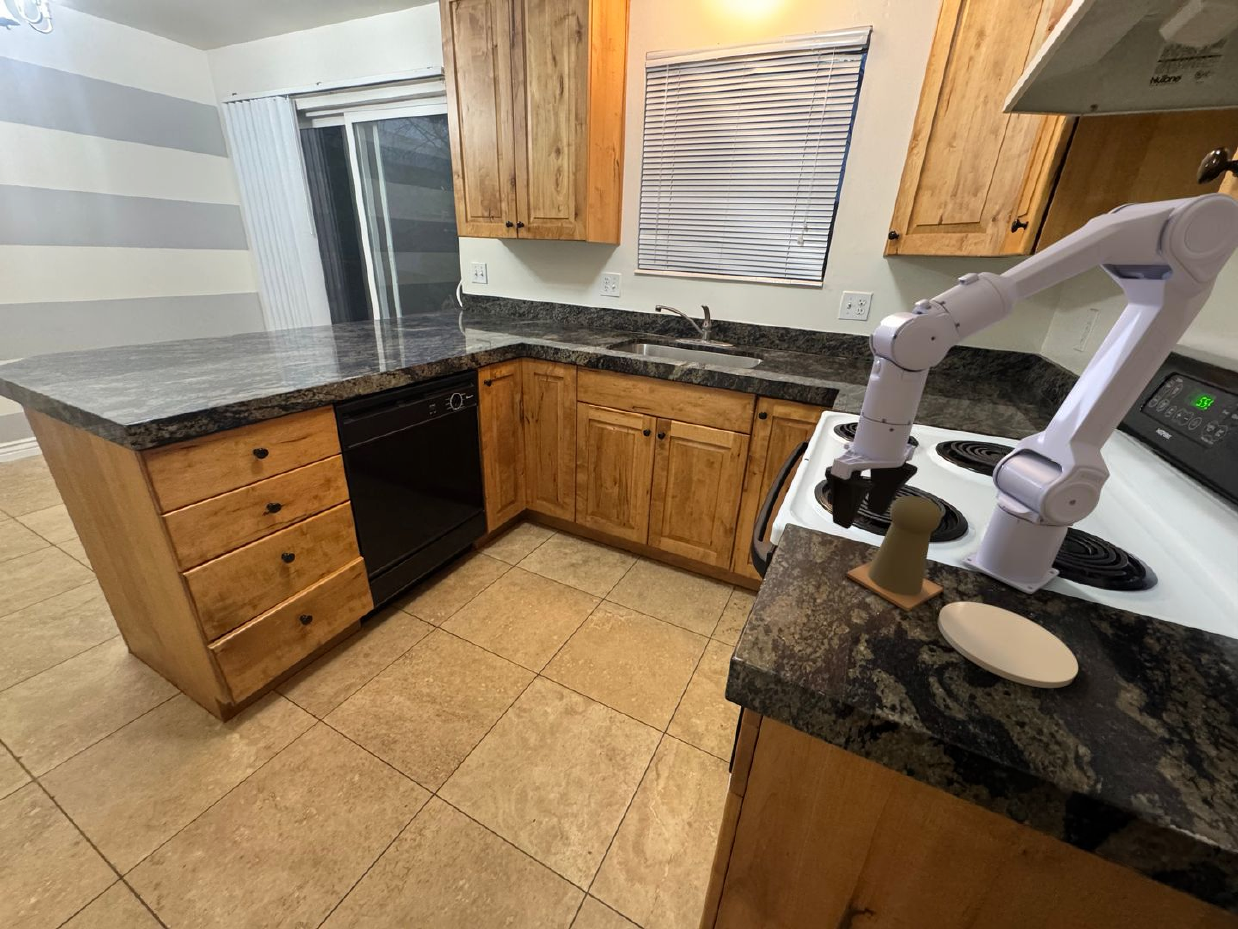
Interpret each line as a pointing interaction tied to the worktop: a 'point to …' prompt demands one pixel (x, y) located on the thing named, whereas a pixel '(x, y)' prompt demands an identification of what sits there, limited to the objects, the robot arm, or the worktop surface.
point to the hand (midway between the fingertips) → (858, 518)
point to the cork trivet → (900, 600)
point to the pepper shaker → (905, 546)
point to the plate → (1007, 644)
